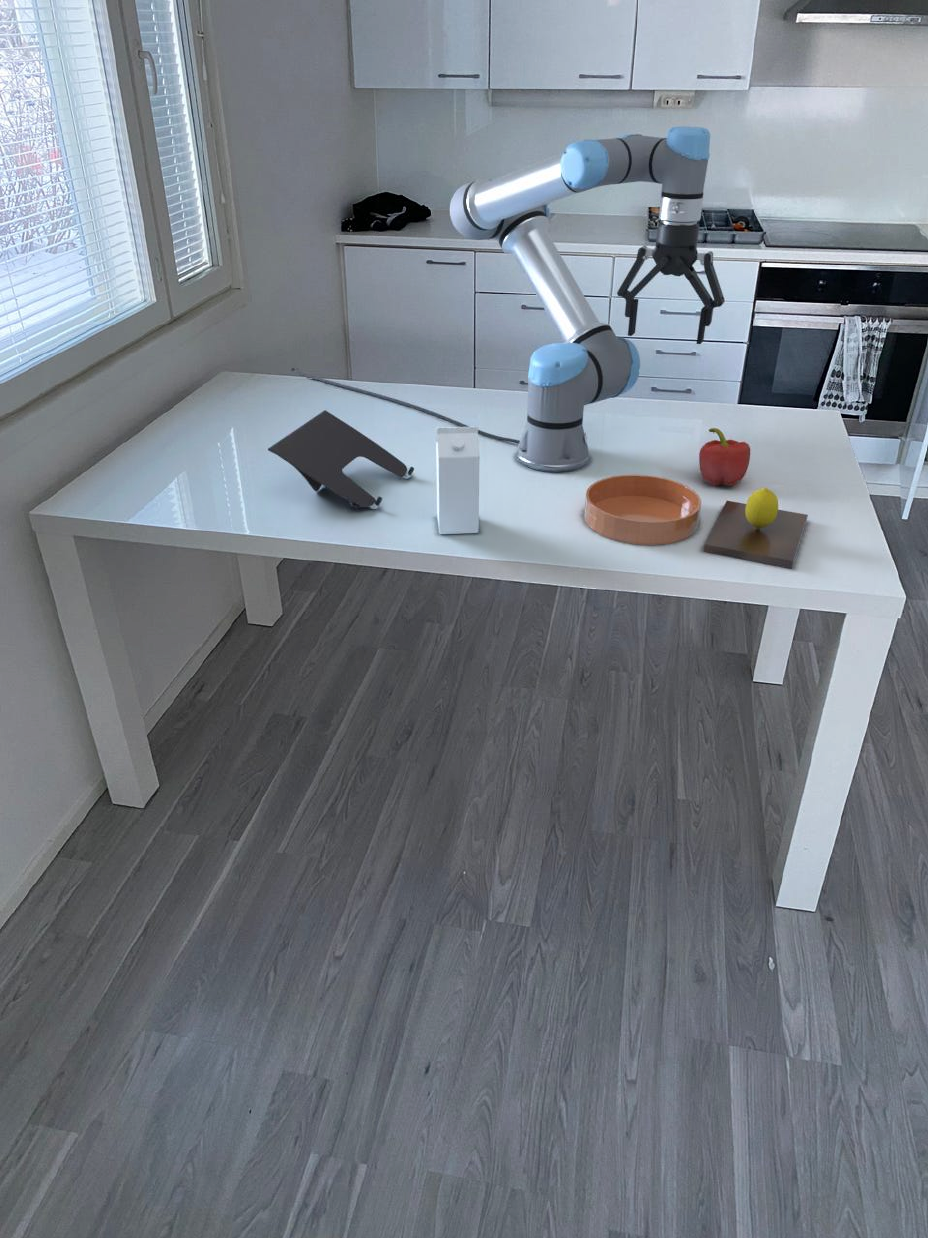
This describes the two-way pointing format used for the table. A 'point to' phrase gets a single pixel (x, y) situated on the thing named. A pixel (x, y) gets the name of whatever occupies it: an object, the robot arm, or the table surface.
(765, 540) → the board
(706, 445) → the vegetable
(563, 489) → the table surface
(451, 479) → the milk carton
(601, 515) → the basin
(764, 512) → the lemon
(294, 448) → the laptop tray
